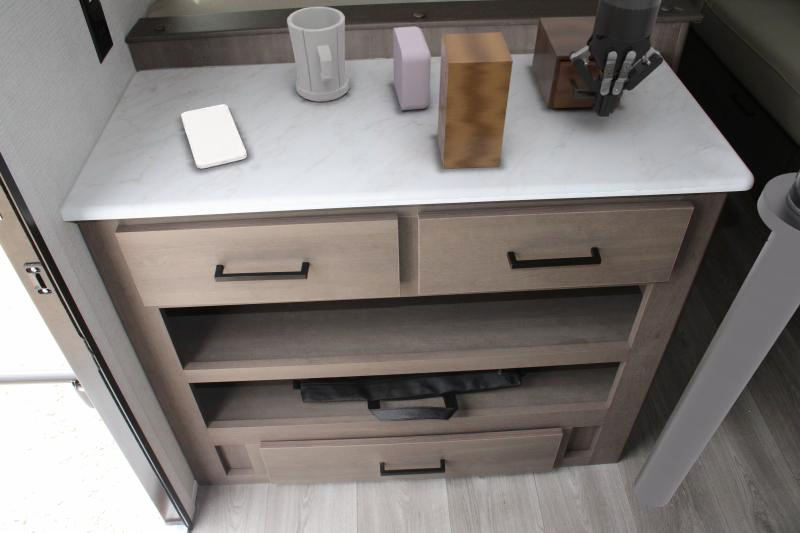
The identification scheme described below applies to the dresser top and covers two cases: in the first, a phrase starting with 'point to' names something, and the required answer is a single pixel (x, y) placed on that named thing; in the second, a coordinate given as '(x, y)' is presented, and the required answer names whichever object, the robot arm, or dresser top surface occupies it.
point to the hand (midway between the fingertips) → (601, 114)
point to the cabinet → (558, 49)
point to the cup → (319, 52)
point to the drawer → (574, 87)
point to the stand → (473, 99)
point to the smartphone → (213, 136)
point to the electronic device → (411, 68)
